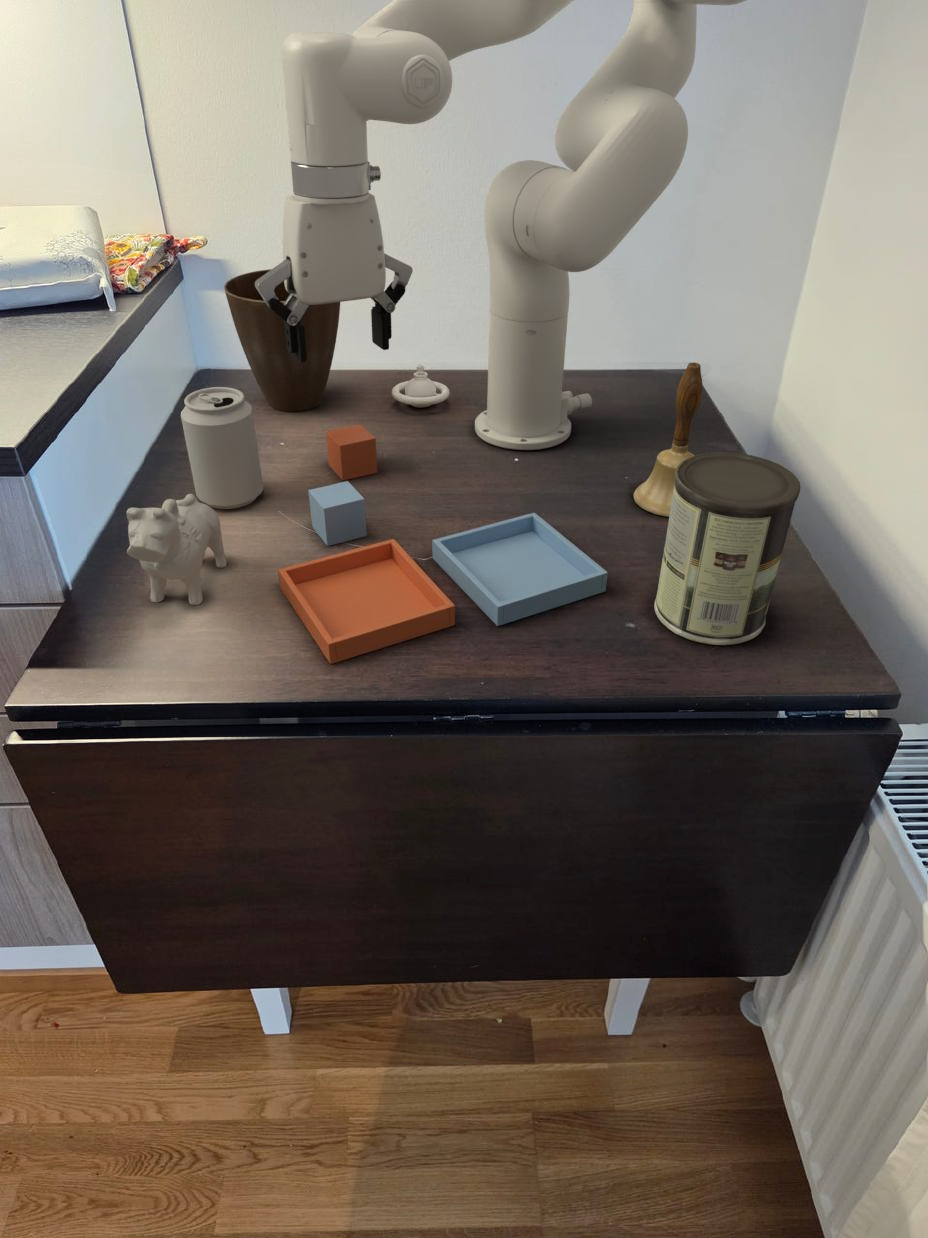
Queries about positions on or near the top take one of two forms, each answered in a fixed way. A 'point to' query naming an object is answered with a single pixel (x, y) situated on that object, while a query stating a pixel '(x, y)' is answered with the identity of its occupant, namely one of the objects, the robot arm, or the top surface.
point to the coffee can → (724, 546)
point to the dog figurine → (175, 543)
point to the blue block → (337, 513)
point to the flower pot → (283, 344)
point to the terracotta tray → (365, 600)
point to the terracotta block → (352, 452)
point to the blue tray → (518, 568)
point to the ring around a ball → (420, 390)
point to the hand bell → (661, 481)
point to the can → (222, 447)
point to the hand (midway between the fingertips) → (340, 352)
